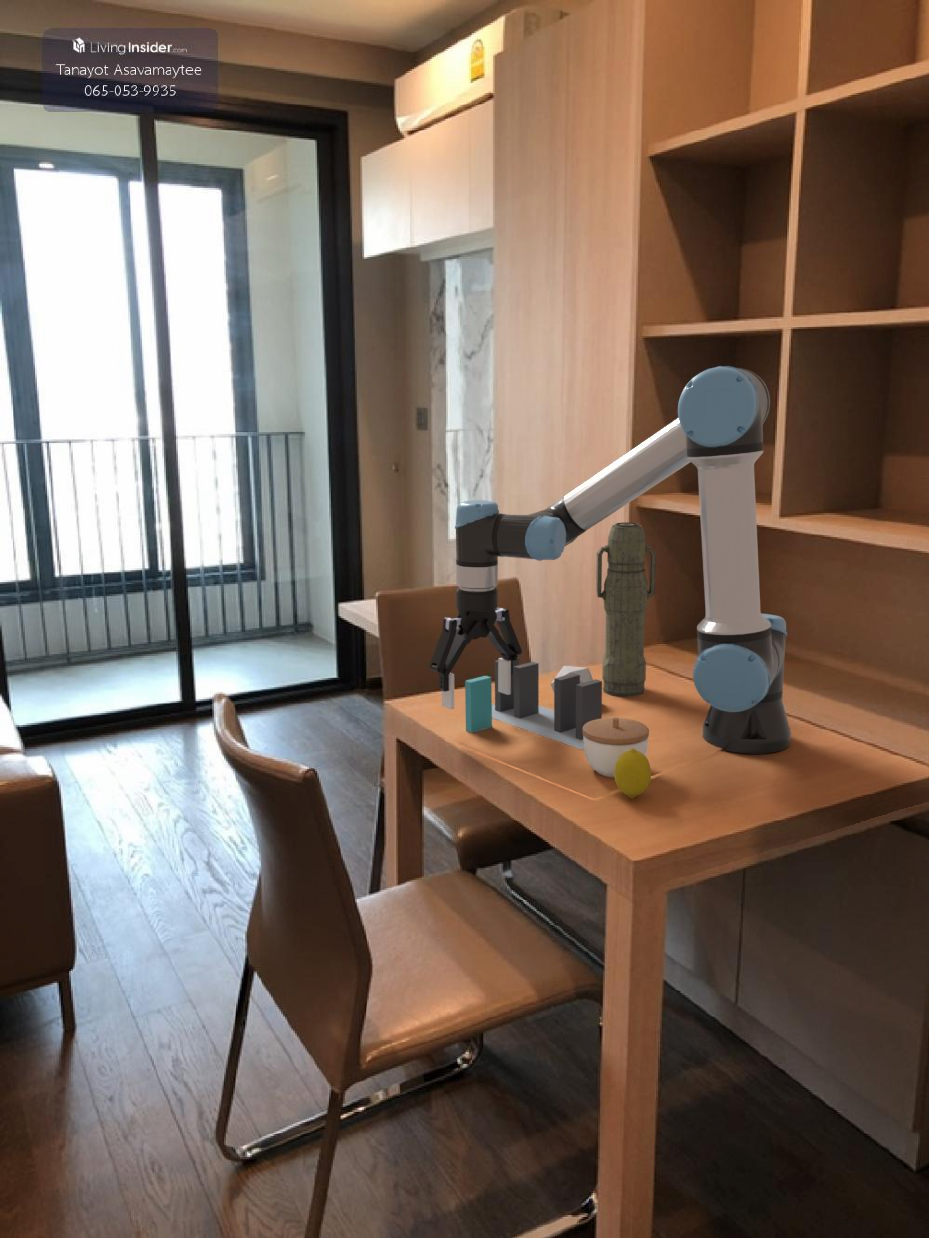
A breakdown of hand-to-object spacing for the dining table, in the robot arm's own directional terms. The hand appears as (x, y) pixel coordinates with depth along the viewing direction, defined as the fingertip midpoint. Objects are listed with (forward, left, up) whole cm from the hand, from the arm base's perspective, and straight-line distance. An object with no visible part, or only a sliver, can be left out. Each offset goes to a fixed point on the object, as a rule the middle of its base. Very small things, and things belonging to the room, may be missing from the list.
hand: (476, 700), depth 186 cm
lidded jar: (-31, -3, -6) cm, 32 cm away
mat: (-6, -12, -6) cm, 15 cm away
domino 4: (-17, -12, -6) cm, 21 cm away
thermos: (-1, -39, -6) cm, 40 cm away
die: (-1, -24, -6) cm, 25 cm away
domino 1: (+5, -12, -6) cm, 14 cm away
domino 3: (-11, -12, -6) cm, 17 cm away
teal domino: (0, 0, -6) cm, 6 cm away
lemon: (-40, +3, -6) cm, 41 cm away
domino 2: (0, -12, -6) cm, 13 cm away
